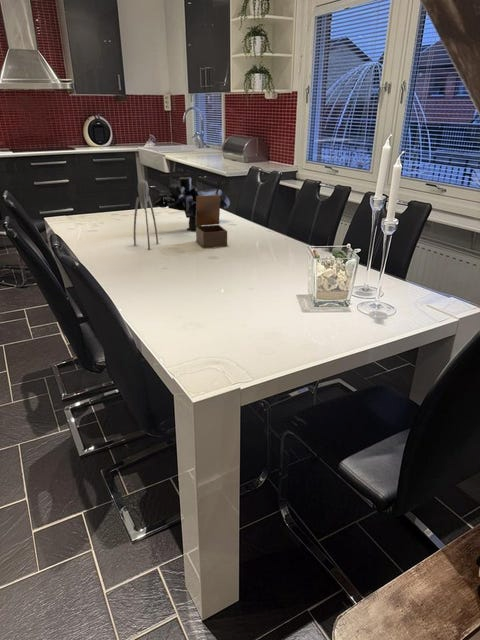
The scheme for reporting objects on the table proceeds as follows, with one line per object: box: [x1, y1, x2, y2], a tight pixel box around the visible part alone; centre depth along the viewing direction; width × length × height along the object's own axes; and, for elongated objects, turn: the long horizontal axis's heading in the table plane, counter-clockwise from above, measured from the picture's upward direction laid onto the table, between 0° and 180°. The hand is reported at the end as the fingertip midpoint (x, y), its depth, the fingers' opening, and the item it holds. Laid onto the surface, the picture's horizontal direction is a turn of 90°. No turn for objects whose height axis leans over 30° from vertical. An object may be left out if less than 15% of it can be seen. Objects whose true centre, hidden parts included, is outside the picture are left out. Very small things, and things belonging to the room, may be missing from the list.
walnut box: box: [195, 224, 228, 249], centre depth 223 cm, size 14×12×7 cm
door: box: [196, 195, 221, 226], centre depth 223 cm, size 14×12×1 cm
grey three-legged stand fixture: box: [133, 179, 159, 251], centre depth 213 cm, size 11×10×30 cm
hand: (161, 205), depth 225 cm, fingers open, 9 cm apart
